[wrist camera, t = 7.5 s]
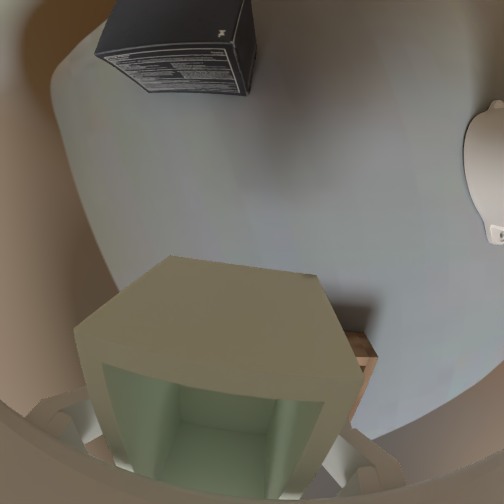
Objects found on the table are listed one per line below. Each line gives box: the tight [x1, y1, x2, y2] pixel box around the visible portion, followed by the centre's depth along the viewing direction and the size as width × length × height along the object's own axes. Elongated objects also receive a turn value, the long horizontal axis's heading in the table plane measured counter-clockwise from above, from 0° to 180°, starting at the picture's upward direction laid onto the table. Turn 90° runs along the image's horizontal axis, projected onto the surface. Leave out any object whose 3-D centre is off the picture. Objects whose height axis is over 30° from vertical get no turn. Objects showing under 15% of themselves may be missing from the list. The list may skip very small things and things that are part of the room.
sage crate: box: [73, 255, 365, 500], centre depth 8 cm, size 6×9×6 cm, turn 173°
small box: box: [94, 0, 257, 96], centre depth 17 cm, size 11×6×10 cm, turn 81°
